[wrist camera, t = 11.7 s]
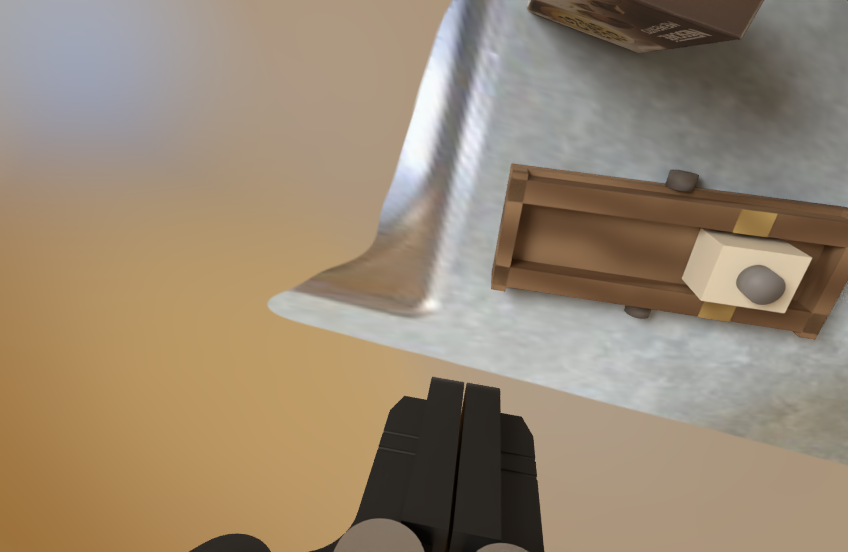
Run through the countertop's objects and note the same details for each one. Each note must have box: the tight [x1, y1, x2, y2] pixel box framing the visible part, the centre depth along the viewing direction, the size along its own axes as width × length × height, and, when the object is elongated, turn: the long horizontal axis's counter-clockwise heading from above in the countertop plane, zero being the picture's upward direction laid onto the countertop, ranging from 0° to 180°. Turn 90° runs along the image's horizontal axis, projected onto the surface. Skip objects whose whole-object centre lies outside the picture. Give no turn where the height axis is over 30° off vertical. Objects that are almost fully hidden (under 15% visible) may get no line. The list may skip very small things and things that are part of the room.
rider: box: [682, 228, 812, 313], centre depth 35 cm, size 4×6×6 cm
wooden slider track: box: [491, 164, 848, 339], centre depth 37 cm, size 12×26×4 cm, turn 84°
